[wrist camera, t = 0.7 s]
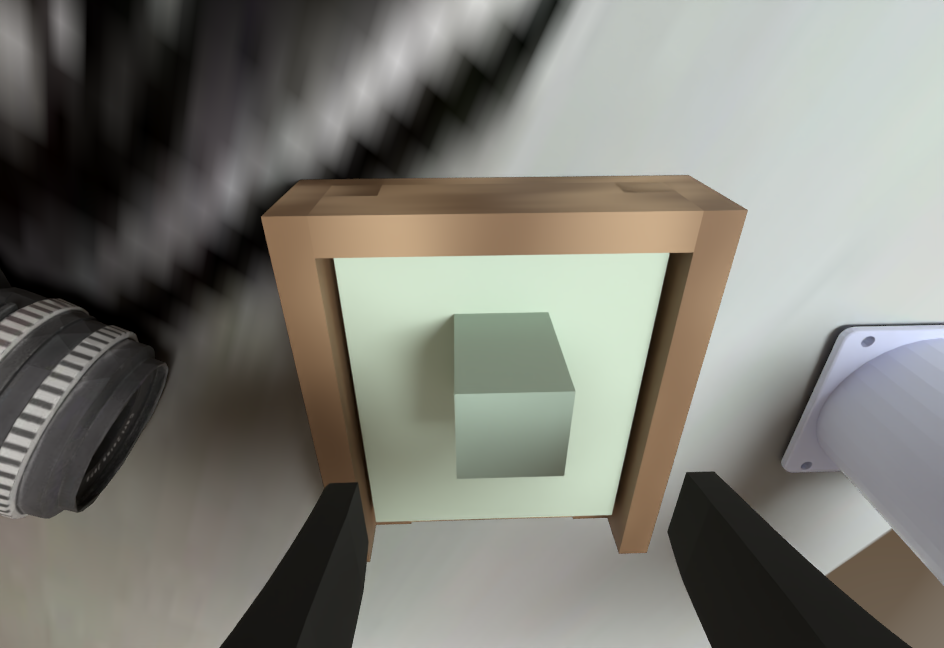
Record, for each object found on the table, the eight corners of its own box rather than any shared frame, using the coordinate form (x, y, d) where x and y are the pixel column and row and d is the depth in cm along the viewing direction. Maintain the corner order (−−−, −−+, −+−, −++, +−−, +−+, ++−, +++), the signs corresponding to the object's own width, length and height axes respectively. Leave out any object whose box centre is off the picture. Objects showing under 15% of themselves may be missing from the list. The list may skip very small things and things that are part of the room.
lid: (657, 239, 15) (737, 318, 11) (605, 495, 21) (643, 610, 17) (340, 244, 15) (295, 327, 11) (379, 502, 21) (360, 620, 17)
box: (688, 175, 16) (748, 209, 13) (620, 482, 24) (646, 552, 21) (300, 179, 16) (261, 216, 13) (356, 489, 24) (341, 562, 20)
